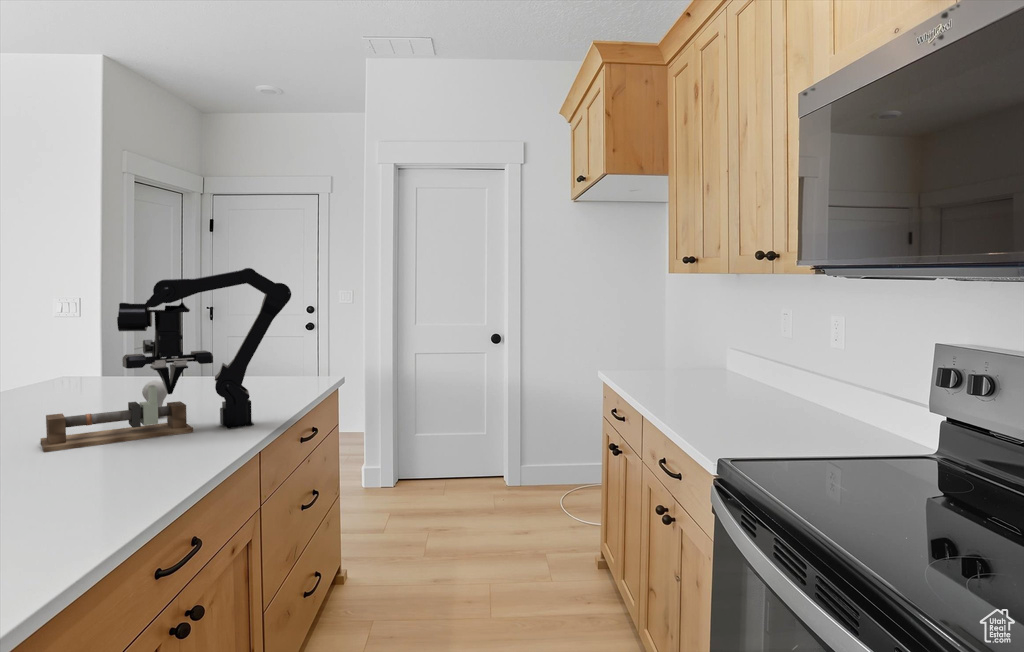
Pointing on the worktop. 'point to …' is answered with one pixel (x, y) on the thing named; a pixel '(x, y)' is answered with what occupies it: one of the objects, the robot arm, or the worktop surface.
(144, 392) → the light bulb
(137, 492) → the worktop surface
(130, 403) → the dark grey angular piece
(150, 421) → the sleeve
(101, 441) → the pipe stand
